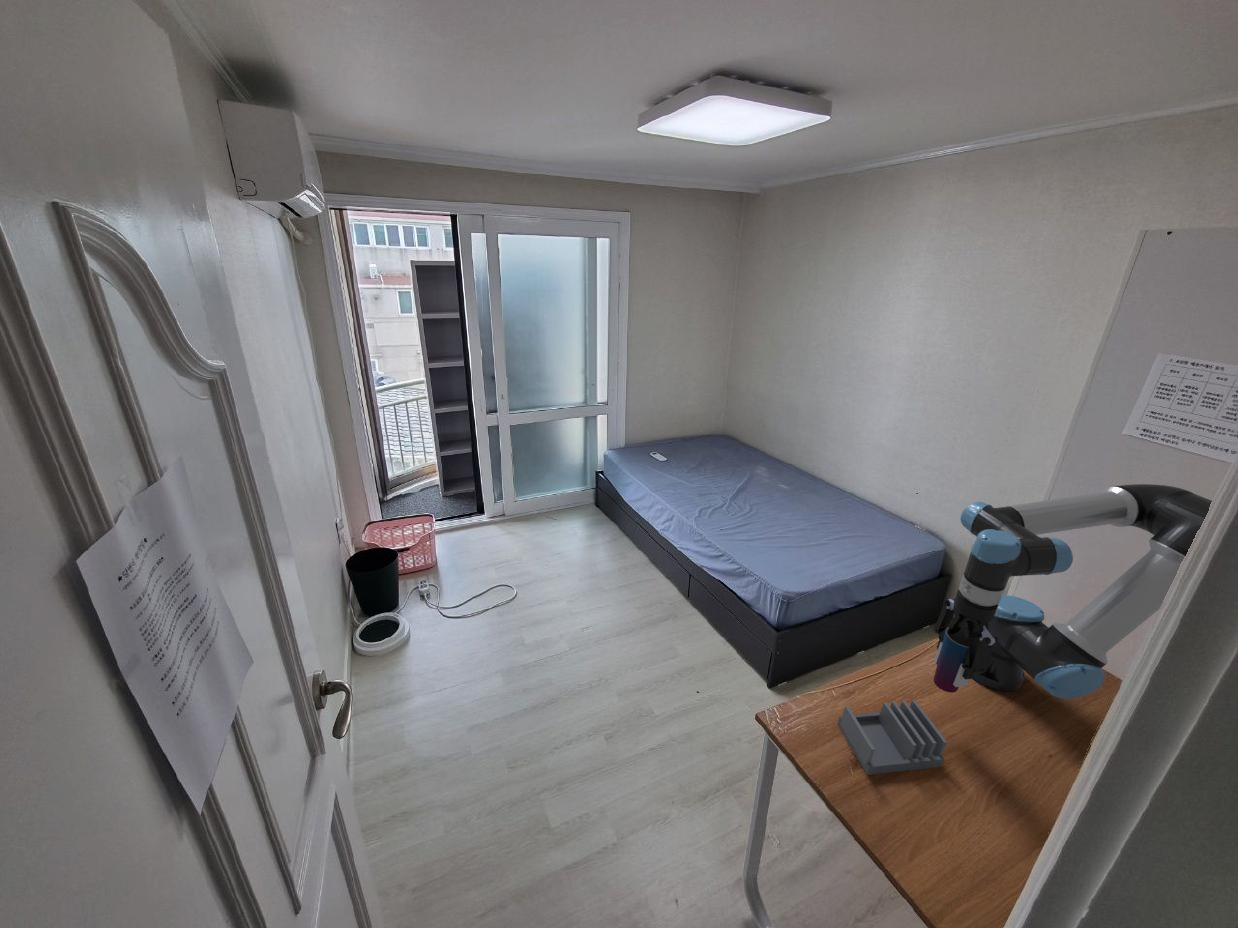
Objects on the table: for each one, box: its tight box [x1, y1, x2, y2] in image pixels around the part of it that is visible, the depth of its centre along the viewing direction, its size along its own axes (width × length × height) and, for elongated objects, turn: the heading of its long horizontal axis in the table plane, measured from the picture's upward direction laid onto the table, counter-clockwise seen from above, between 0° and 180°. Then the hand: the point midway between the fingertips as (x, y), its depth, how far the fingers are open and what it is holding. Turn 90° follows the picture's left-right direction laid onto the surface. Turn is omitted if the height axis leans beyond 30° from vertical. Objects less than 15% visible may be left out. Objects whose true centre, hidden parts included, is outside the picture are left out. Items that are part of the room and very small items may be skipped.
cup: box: [933, 627, 969, 694], centre depth 116 cm, size 7×7×15 cm
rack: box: [837, 699, 948, 776], centre depth 116 cm, size 18×13×7 cm
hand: (949, 673), depth 118 cm, fingers closed on cup, 6 cm apart
